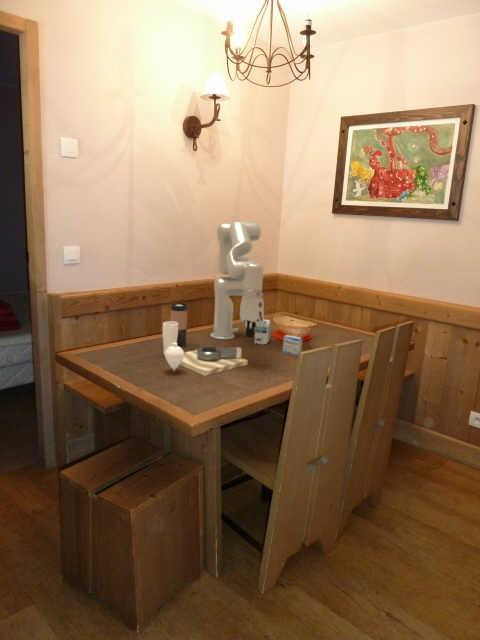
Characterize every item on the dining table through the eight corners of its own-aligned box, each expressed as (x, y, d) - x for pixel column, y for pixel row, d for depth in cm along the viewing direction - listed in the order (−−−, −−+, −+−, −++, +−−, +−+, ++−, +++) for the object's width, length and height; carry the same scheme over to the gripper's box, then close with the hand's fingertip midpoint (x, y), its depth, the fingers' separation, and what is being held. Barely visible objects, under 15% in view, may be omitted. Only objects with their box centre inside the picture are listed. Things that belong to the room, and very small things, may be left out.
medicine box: (282, 353, 220) (283, 336, 218) (285, 351, 224) (287, 334, 222) (297, 356, 217) (299, 339, 215) (301, 354, 220) (302, 337, 218)
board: (210, 351, 217) (211, 346, 217) (247, 364, 201) (247, 359, 200) (169, 360, 201) (169, 355, 200) (205, 375, 184) (205, 370, 184)
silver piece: (197, 361, 194) (198, 349, 193) (196, 353, 204) (196, 342, 203) (242, 361, 198) (243, 349, 197) (238, 354, 207) (239, 343, 206)
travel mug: (187, 343, 227) (188, 303, 222) (184, 348, 219) (185, 306, 215) (172, 342, 227) (173, 302, 223) (168, 346, 220) (169, 305, 215)
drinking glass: (174, 358, 203) (175, 325, 200) (159, 356, 204) (160, 323, 201) (179, 354, 209) (180, 322, 206) (165, 352, 211) (165, 320, 207)
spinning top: (174, 367, 192) (175, 339, 189) (187, 372, 187) (188, 343, 185) (160, 371, 186) (161, 342, 184) (173, 376, 182) (174, 346, 179)
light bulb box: (267, 345, 233) (268, 324, 231) (254, 343, 234) (255, 323, 232) (269, 339, 243) (270, 319, 241) (256, 338, 244) (258, 318, 242)
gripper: (272, 295, 188) (269, 339, 192) (245, 290, 198) (243, 332, 202) (259, 297, 183) (256, 342, 187) (233, 291, 193) (231, 334, 197)
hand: (249, 336), depth 195 cm, fingers closed
